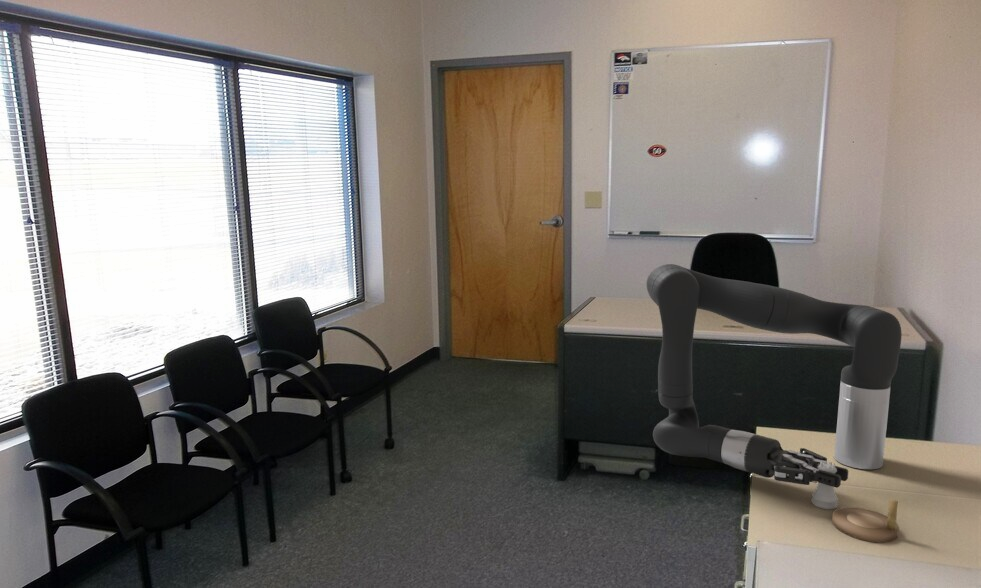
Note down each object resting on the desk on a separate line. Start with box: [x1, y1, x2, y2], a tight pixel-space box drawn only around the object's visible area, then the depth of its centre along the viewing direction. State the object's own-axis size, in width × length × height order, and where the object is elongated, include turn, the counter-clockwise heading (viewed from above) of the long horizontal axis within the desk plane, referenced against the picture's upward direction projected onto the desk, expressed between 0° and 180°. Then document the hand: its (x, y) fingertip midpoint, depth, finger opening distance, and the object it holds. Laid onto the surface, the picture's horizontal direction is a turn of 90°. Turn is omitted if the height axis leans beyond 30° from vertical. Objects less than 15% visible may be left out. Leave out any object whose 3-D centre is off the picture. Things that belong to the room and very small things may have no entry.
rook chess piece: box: [811, 460, 839, 511], centre depth 127 cm, size 4×4×8 cm
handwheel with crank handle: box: [831, 499, 900, 543], centre depth 119 cm, size 10×10×6 cm
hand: (843, 478), depth 125 cm, fingers closed on rook chess piece, 3 cm apart
